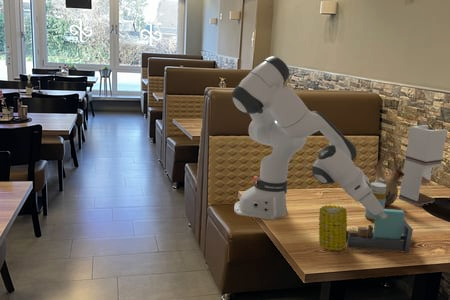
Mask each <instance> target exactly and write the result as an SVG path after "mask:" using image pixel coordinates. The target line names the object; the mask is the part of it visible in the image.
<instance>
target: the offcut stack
mask: <svg viewBox="0 0 450 300" xmlns="http://www.w3.org/2000/svg"><path fill="white" fill-rule="evenodd" d="M347 231H348V236H360V237H372V232H373V231H374V225H372V224H368V227H367V226H358V227H357V230H355V229H348V230H347ZM357 231H358V232H357ZM347 240H348V237H347Z"/></svg>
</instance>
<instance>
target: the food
mask: <svg viewBox="0 0 450 300" xmlns="http://www.w3.org/2000/svg"><path fill="white" fill-rule="evenodd" d="M318 215H319V218H318V221H319V223H318V225H319V227H318V235H319V236H318V238H319V239H318V241H319V243H318V244H319V246H320V247H322V248H324V249H326V250H329V251H335V252H337V251H339V252H341V251H342V250H344V249H345V248H346V247H347V242H346V232H347V231H348V230H347V229H348V223H347V218H348V217H347V215H348V214H347V209H346V208H345V207H343V206H339V205H338V206H336V205H331V204H329V205H324V206H323V205H322V206H321V207H320V208H319V213H318Z"/></svg>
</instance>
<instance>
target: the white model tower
mask: <svg viewBox="0 0 450 300" xmlns="http://www.w3.org/2000/svg"><path fill="white" fill-rule="evenodd" d="M428 128H429V125H427V124H423V125H412V126H410V127H409V133H408V140H407V145H406V152H405V158H404V164H403V169H402V170H403V171H402V172H403V173H404V176H403V177H401V183H400V190H399V193H398V199H400V200H402V201H404V202H406V203H409V204H411V205H414V206H417V207H422V206H425V205H424V204H426V205H429V204H428V203H431V204H434V203H435V200H436V199H435V198H434V197H431V196H429V195H426V194H423V193H421V192H420V191H421V185H422V184H423V185H424V184H427V183H430V181H431V176H432V172H433V169H435V168H440V167H442V162H443V156H444V151H445V150H444V149H445V145H446V139H447V133H448V129H428ZM433 202H434V203H433Z"/></svg>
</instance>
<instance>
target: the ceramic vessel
mask: <svg viewBox="0 0 450 300" xmlns="http://www.w3.org/2000/svg"><path fill="white" fill-rule="evenodd" d="M388 155H392V159H393V172H392V175H391V177H387V176H386V175H385V174H384V172H383V165H384V162H385V159H386V157H387V156H388ZM372 167H373V169H374V172H375V180H374V182H380V183H384V184H386V192H385V194H386V200H385V207H388V206H390V205H392V204H394V203H395V202H396V200H397V199H398V196H399V191H398V190H399V187H398V181H399V180H400V179H402V177H403V176H404V173H403V171H401V170H400V169H399V167H398V161H397V156H396V154H395V153H394V152H393V151H392V150H388V151H385V153H384V154H383V156H382V157H381V159H379V161H377V162H376V163H375V164H373V165H372Z"/></svg>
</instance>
